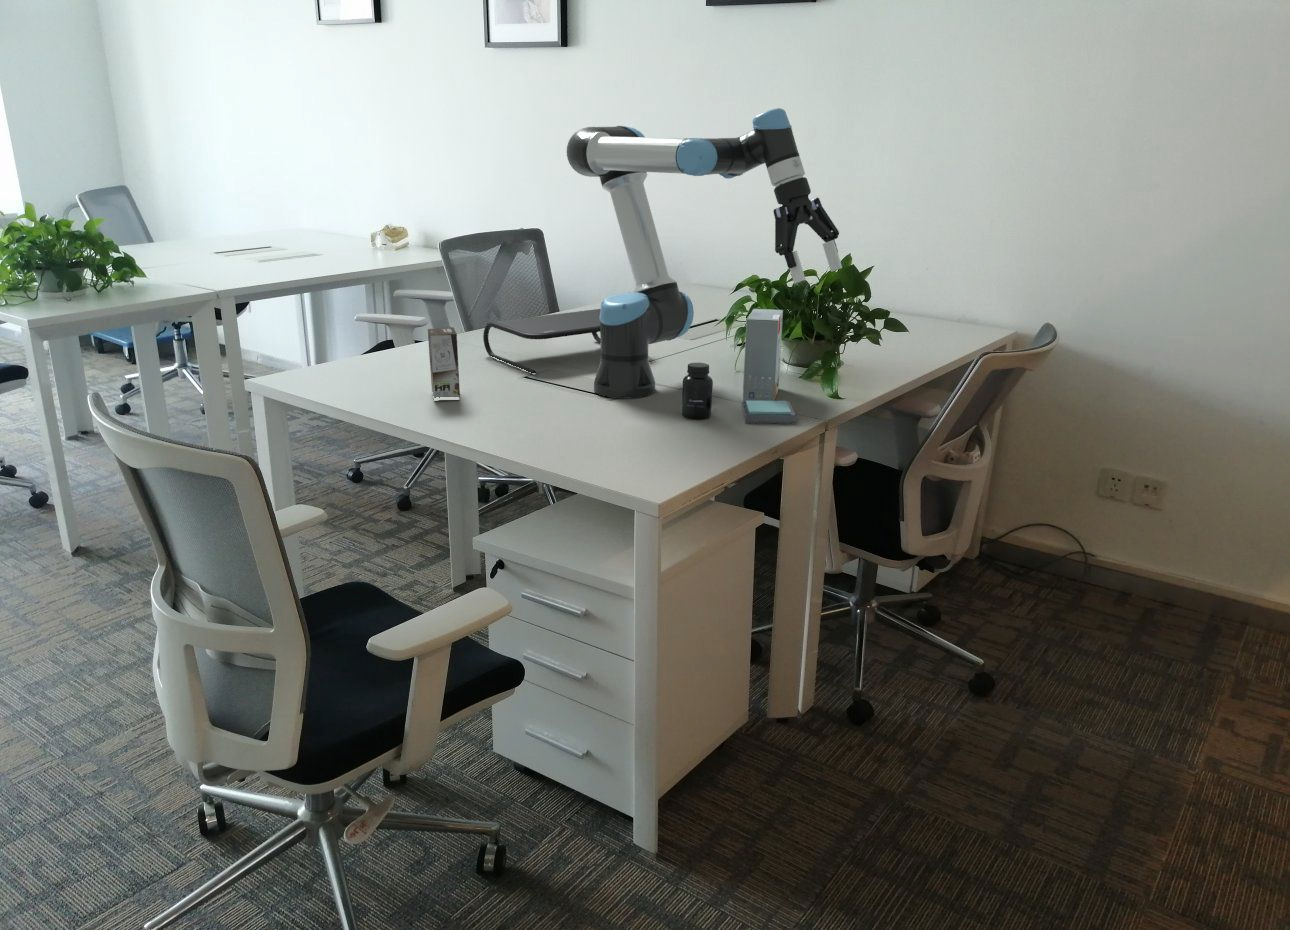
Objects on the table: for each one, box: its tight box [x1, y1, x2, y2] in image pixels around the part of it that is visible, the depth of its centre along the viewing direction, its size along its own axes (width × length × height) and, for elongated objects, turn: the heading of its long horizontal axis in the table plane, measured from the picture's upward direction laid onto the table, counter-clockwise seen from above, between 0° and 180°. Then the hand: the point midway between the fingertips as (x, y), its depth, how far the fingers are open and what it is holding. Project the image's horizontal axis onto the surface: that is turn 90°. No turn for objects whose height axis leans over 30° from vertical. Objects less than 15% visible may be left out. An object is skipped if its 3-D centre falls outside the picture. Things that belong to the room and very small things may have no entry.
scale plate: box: [745, 400, 791, 414], centre depth 232 cm, size 9×9×1 cm
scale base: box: [741, 401, 796, 425], centre depth 232 cm, size 11×11×2 cm
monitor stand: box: [482, 308, 601, 374], centre depth 288 cm, size 37×28×11 cm
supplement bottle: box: [681, 362, 714, 421], centre depth 231 cm, size 7×7×12 cm
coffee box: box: [427, 326, 461, 399], centre depth 246 cm, size 9×6×16 cm
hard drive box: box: [742, 308, 784, 402], centre depth 247 cm, size 16×8×20 cm, turn 168°
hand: (818, 275), depth 226 cm, fingers open, 13 cm apart
